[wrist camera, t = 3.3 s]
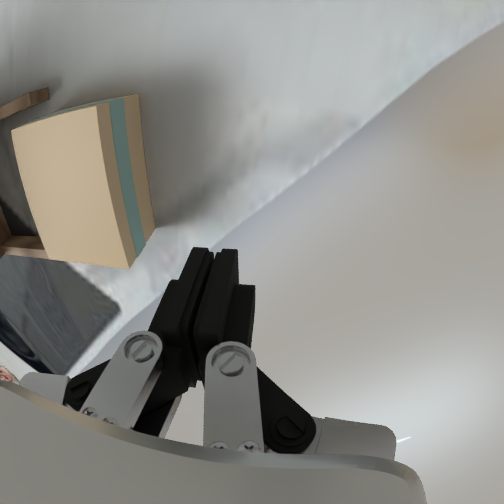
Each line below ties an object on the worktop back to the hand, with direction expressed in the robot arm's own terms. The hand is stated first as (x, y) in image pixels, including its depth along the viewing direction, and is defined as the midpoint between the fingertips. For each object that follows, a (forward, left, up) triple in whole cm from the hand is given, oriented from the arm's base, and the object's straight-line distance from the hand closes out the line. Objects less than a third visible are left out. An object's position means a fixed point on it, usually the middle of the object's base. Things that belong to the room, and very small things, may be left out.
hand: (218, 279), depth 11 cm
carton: (+13, -1, -12) cm, 18 cm away
